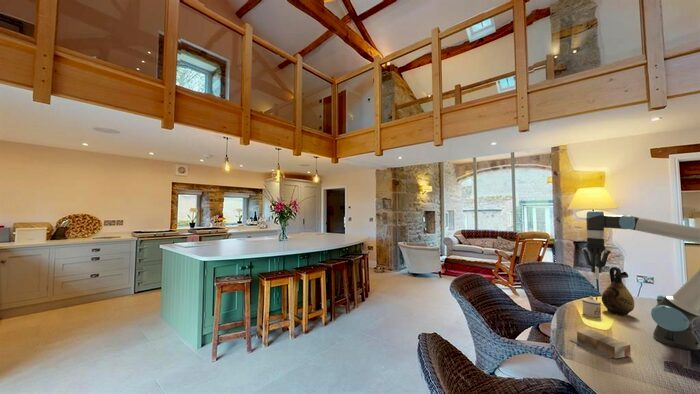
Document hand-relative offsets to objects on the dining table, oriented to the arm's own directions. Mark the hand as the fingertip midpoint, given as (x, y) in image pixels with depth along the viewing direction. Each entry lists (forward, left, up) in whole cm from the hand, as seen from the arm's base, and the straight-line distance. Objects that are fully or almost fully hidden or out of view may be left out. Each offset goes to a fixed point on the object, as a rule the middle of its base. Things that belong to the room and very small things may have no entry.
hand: (596, 278), depth 153 cm
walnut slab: (+5, +34, -25) cm, 43 cm away
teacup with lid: (-8, -25, -29) cm, 39 cm away
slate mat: (+11, +27, -28) cm, 40 cm away
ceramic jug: (-25, -35, -29) cm, 52 cm away
